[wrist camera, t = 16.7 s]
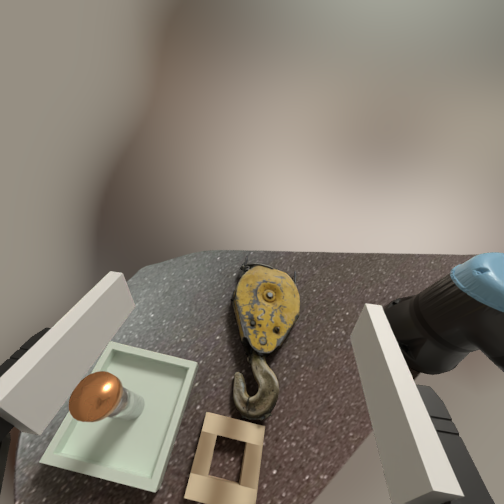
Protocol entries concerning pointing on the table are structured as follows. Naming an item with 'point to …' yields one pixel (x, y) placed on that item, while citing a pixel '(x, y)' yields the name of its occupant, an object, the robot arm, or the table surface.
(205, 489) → the bracket
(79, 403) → the steel pin
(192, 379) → the pale green tray
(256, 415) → the pulley block
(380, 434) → the robot arm
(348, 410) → the table surface
